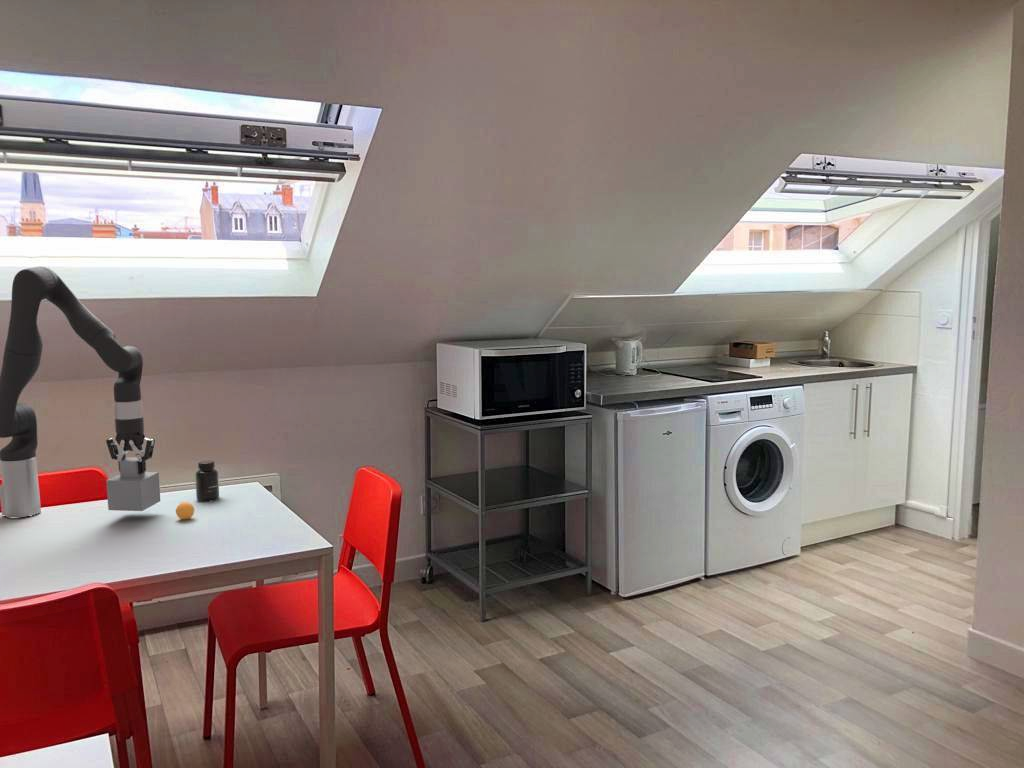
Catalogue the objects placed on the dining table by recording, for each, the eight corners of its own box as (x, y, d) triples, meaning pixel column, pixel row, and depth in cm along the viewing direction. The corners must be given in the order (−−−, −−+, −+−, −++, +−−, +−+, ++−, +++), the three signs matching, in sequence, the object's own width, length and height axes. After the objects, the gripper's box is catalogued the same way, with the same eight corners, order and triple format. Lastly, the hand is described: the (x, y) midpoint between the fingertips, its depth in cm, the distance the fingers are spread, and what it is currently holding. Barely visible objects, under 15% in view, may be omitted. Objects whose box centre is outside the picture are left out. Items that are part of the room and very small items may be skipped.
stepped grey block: (108, 510, 241) (105, 463, 239) (127, 500, 252) (124, 455, 250) (142, 511, 240) (139, 464, 238) (160, 501, 251) (157, 455, 249)
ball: (180, 525, 242) (169, 511, 242) (188, 519, 247) (177, 506, 247) (192, 515, 241) (181, 501, 241) (200, 510, 246) (190, 496, 246)
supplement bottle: (214, 502, 262) (212, 464, 261) (193, 502, 262) (190, 464, 261) (222, 496, 269) (220, 459, 267) (201, 496, 269) (199, 459, 268)
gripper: (97, 417, 239) (102, 476, 242) (145, 418, 238) (149, 477, 240) (112, 413, 247) (116, 469, 249) (159, 414, 245) (162, 471, 248)
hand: (132, 473), depth 245 cm, fingers closed on stepped grey block, 4 cm apart
